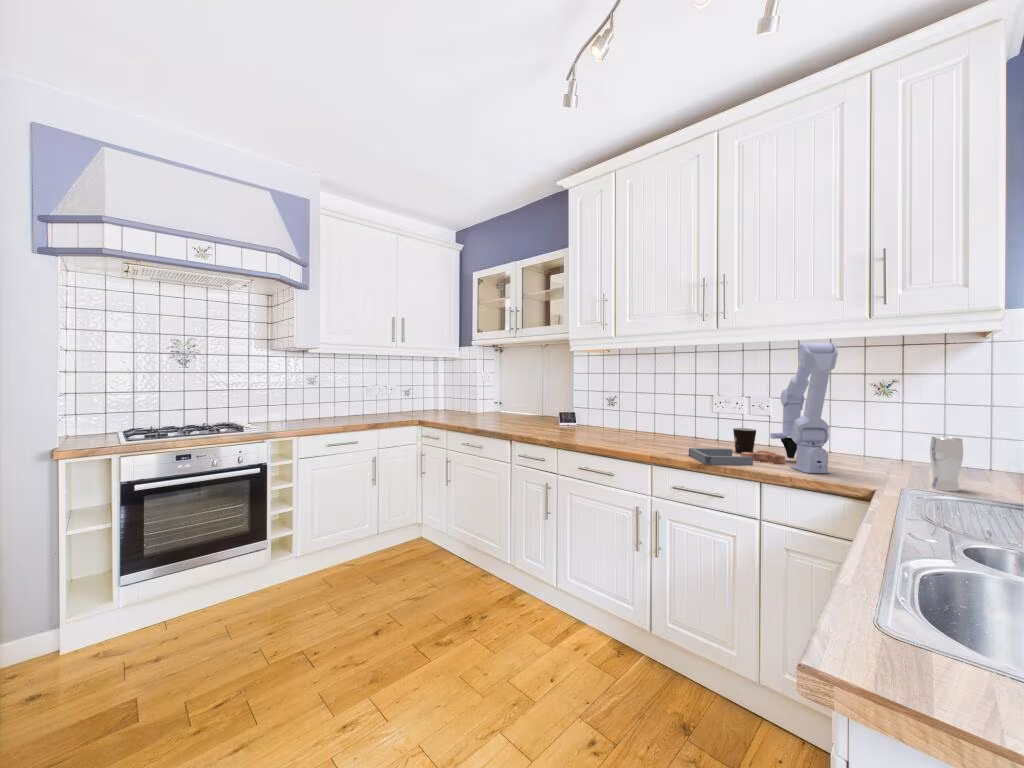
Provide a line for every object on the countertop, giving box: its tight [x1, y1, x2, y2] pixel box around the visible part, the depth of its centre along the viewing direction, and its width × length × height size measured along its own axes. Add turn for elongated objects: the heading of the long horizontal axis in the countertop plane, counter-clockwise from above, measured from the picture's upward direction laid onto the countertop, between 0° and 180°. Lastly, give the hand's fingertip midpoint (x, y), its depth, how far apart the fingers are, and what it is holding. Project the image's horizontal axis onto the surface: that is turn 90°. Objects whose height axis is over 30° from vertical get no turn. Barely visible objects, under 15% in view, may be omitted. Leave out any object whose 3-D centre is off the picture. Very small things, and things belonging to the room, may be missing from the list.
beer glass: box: [929, 436, 964, 493], centre depth 131 cm, size 7×7×15 cm
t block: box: [740, 450, 786, 465], centre depth 170 cm, size 12×12×3 cm
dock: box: [688, 447, 754, 466], centre depth 170 cm, size 18×16×3 cm
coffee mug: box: [732, 427, 757, 454], centre depth 188 cm, size 12×9×10 cm
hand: (790, 457), depth 170 cm, fingers closed
